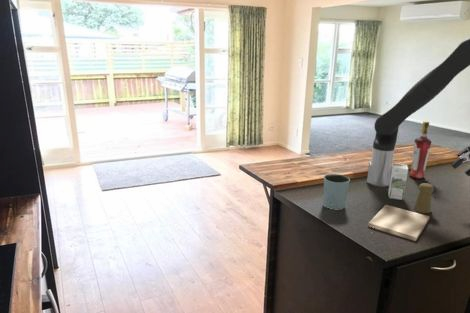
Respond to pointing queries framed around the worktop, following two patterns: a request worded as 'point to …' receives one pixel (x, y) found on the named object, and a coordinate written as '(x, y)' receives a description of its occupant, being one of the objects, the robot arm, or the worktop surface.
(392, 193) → the syrup box
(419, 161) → the liquor
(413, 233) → the birch board
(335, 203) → the blue-grey cup
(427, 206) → the cork
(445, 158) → the worktop surface
